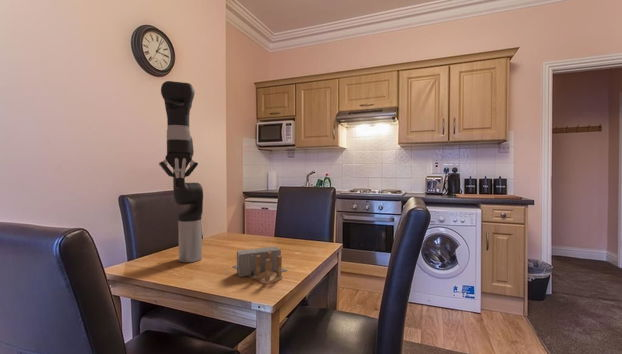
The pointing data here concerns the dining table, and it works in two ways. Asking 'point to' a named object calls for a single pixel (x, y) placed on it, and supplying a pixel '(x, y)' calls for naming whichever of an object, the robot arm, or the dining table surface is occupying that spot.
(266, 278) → the stool
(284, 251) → the dining table surface
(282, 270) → the mat
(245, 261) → the skincare box
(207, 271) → the dining table surface
